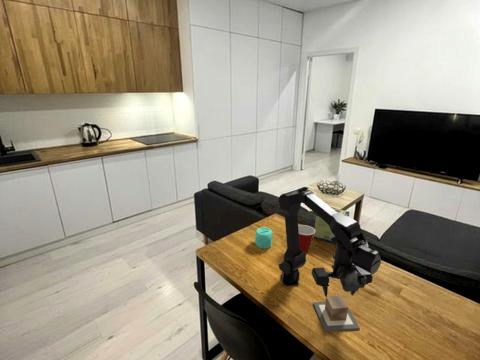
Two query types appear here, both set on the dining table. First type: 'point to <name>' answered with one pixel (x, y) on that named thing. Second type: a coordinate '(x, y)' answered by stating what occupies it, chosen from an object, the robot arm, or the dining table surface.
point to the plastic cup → (305, 237)
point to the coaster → (335, 325)
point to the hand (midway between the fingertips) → (338, 295)
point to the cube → (336, 308)
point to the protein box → (325, 228)
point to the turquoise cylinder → (263, 238)
